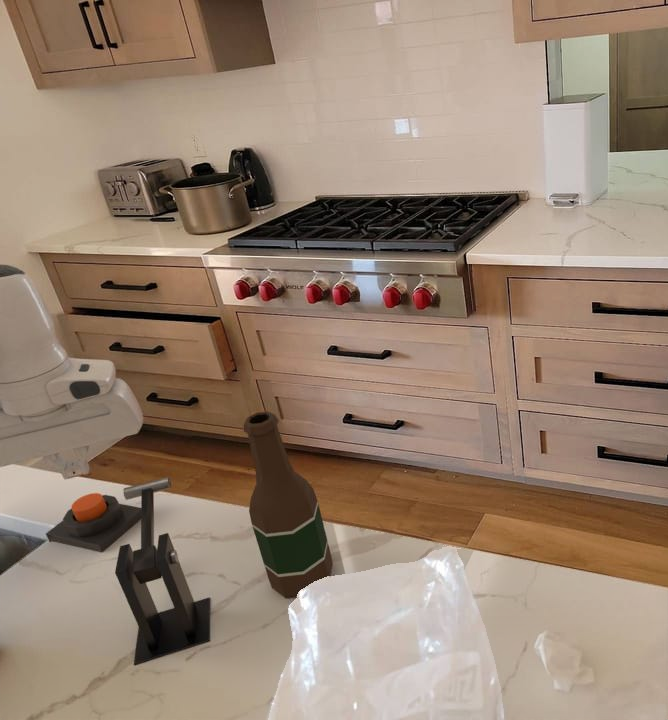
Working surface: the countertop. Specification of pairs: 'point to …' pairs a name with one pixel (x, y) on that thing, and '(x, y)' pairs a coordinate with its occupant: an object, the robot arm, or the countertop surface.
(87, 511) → the button
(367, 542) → the countertop surface
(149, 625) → the power switch
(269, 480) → the beer bottle
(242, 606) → the countertop surface
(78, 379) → the robot arm
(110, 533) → the panel
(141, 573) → the power lever
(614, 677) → the countertop surface
